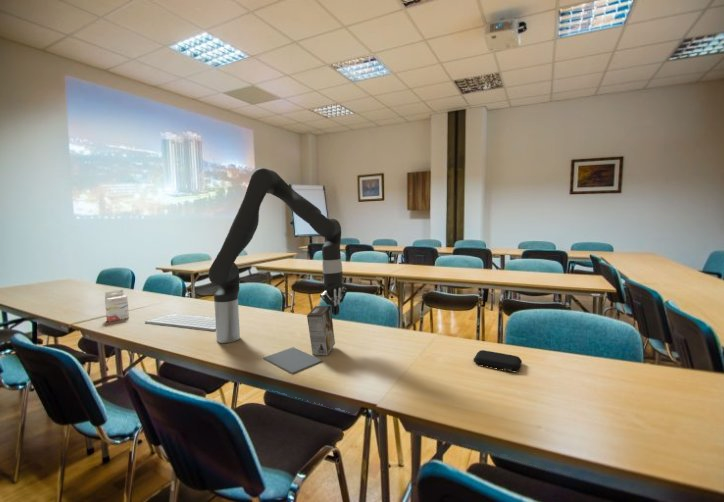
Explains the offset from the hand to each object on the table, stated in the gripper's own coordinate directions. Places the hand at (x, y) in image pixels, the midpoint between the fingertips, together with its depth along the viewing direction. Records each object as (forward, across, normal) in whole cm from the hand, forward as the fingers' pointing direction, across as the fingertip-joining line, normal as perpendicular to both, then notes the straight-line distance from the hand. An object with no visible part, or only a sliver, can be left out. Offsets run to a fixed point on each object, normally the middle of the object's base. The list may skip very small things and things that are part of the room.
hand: (335, 314), depth 133 cm
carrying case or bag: (+16, -24, +53) cm, 61 cm away
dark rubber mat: (+12, +19, -3) cm, 23 cm away
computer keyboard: (+11, +25, -79) cm, 84 cm away
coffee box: (+12, +6, -1) cm, 14 cm away
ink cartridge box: (+8, +49, -114) cm, 124 cm away
